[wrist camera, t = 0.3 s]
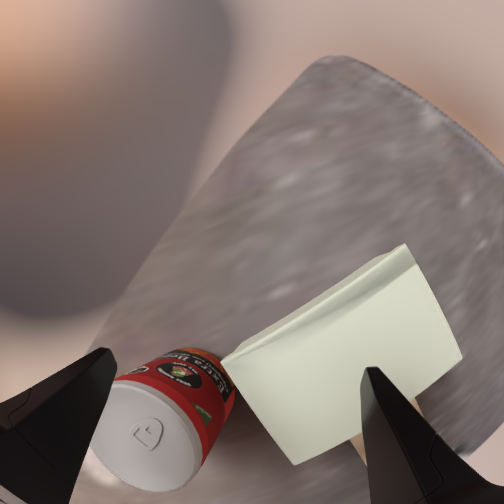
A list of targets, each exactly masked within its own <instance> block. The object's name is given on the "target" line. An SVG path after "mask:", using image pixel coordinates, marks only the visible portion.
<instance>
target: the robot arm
mask: <svg viewBox="0 0 504 504" xmlns="http://www.w3.org/2000/svg"><path fill="white" fill-rule="evenodd" d="M116 372H117V363H116V361H115V358H114V356H113V354H112V351H111V350H110V349H108V348H104V347H100V348H98V349H96V350H94V351H93V352H91V353H89V354H88V355H86V356H84V357H82V358H81V359H79V360H77V361H76V362H74V363H72V364H71V365H69V366H67V367H65V368H63V369H62V370H60V371H58V372H57V373H55V374H53V375H51V376H50V377H48V378H46V379H44V380H43V381H41V382H39V383H38V384H36V385H34V386H33V387H32V388H29V389H27V390H25V391H24V392H22V393H20V394H18V395H16V396H14V397H12V398H10V399H8V400H6V401H4V402H2V403H0V504H69V501H70V498H71V495H72V492H73V489H74V486H75V483H76V480H77V477H78V474H79V471H80V469H81V466H82V463H83V461H84V458H85V455H86V453H87V450H88V447H89V445H90V442H91V440H92V437H93V435H94V432H95V430H96V427H97V425H98V422H99V420H100V417H101V415H102V412H103V410H104V408H105V405H106V403H107V400H108V397H109V394H110V390H111V387H112V384H113V381H114V378H115V375H116ZM360 399H361V424H362V434H363V441H364V448H365V455H366V462H367V470H368V479H369V488H370V498H371V504H504V486H499V485H495V484H492V483H490V482H488V481H487V480H485V479H484V478H483V477H482V476H480V475H479V474H478V473H477V472H476V471H475V470H474V469H472V468H471V467H470V466H469V465H468V464H467V463H466V462H465V461H464V460H462V459H461V458H460V457H459V456H458V455H457V454H456V453H455V452H454V451H453V450H452V449H451V448H450V447H449V446H448V445H447V444H446V443H445V441H444V440H443V439H442V438H441V437H440V436H439V435H438V434H436V431H435V430H434V429H433V428H432V427H431V426H430V424H429V423H428V422H427V421H426V420H425V419H424V418H423V417H422V415H421V414H420V413H419V412H418V411H417V410H416V409H415V407H414V406H413V405H412V404H411V403H410V402H409V401H408V400H407V398H406V397H405V396H404V395H403V394H402V393H401V392H400V391H399V389H398V388H397V387H396V386H395V385H394V384H393V383H392V382H391V381H390V379H389V378H388V377H387V376H386V375H385V374H384V373H383V372H382V370H381V369H380V368H379V367H377V366H373V367H366V368H365V370H364V373H363V376H362V380H361V383H360Z"/></svg>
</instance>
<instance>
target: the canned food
mask: <svg viewBox="0 0 504 504" xmlns="http://www.w3.org/2000/svg"><path fill="white" fill-rule="evenodd" d="M220 362H221V361H220V360H219V359H218V358H216V357H215V356H213V355H212V354H210V353H207V352H205V351H202V350H198V349H194V348H182V349H176V350H174V351H171V352H169V353H167V354H165V355H163V356H161V357H159V358H157V359H155V360H153V361H151V362H149V363H147V364H145V365H143V366H141V367H139V368H136V369H134V370H132V371H130V372H128V373H126V374H124V375H122V376H120V377H118V378H116V379H114V381H113V384H112V387H111V390H110V394H109V397H108V400H107V403H106V405H105V408H104V410H103V412H102V415H101V417H100V420H99V422H98V425H97V427H96V430H95V432H94V435H93V437H92V440H91V442H90V447H91V448H92V450H93V452H94V454H95V455H96V456H97V458H98V459H99V460H100V462H101V463H102V464H103V465H104V466H105V467H106V468H107V469H108V470H109V471H110V472H111V473H112V474H114V475H115V476H116V477H118V478H119V479H121V480H122V481H124V482H126V483H127V484H129V485H131V486H134V487H136V488H138V489H142V490H145V491H149V492H157V493H164V492H172V491H175V490H179V489H181V488H182V487H184V486H186V485H187V484H188V483H189V482H190V481H191V480H192V479H193V478H194V477H195V475H196V474H197V473H198V471H199V469H200V467H201V466H202V465H203V463H204V461H205V459H206V457H207V455H208V454H209V452H210V450H211V448H212V446H213V444H214V442H215V440H216V439H217V437H218V435H219V433H220V431H221V429H222V427H223V425H224V423H225V421H226V419H227V417H228V415H229V413H230V411H231V409H232V407H233V404H234V400H235V388H234V383H233V381H232V379H231V378H230V376H229V375H228V373H227V372H226V370H225V369H224V367H223V366H222V364H221V363H220Z"/></svg>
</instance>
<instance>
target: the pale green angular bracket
mask: <svg viewBox="0 0 504 504" xmlns="http://www.w3.org/2000/svg"><path fill="white" fill-rule="evenodd" d="M462 358H463V357H462V355H461V352H460V350H459V348H458V345H457V343H456V341H455V338H454V336H453V334H452V332H451V329H450V327H449V325H448V323H447V321H446V319H445V316H444V314H443V312H442V310H441V308H440V306H439V304H438V302H437V300H436V298H435V296H434V294H433V292H432V291H431V289H430V287H429V285H428V283H427V281H426V279H425V277H424V276H423V274H422V272H421V270H420V268H419V267H418V265H417V263H416V261H415V260H414V258H413V256H412V254H411V253H410V251H409V249H408V248H407V246H406V244H403V245H400V246H398V247H396V248H395V249H394V250H392V251H391V252H389V253H386V254H383V255H380V256H377V257H375V258H373V259H372V260H371V261H369V262H368V263H366V264H365V265H363V266H362V267H361V268H359V269H358V270H356V271H355V272H353V273H352V274H350V275H349V276H348V277H346V278H345V279H343V280H342V281H340V282H339V283H337V284H336V285H334V286H333V287H331V288H330V289H328V290H327V291H325V292H323V293H322V294H320V295H319V296H317V297H316V298H314V299H313V300H311V301H310V302H308V303H306V304H305V305H303V306H302V307H300V308H299V309H297V310H295V311H294V312H292V313H291V314H289V315H287V316H286V317H284V318H282V319H281V320H279V321H277V322H276V323H274V324H272V325H271V326H269V327H267V328H266V329H264V330H262V331H261V332H259V333H257V334H256V335H254V336H252V337H251V338H249V339H247V340H245V341H244V342H242V343H241V344H240V345H239V346H238V347H237V349H236V350H235V351H234V352H233V353H232V354H230V355H228V356H226V357H225V358H224V359H223V360H222V361H221V362H220V363H221V364H222V366H223V367H224V369H225V370H226V372H227V373H228V375H229V376H230V378H231V379H232V381H233V382H234V384H235V385H236V387H237V388H238V390H239V391H240V393H241V394H242V396H243V397H244V399H245V400H246V402H247V403H248V404H249V406H250V407H251V409H252V410H253V412H254V413H255V414H256V416H257V417H258V419H259V420H260V421H261V423H262V424H263V426H264V427H265V428H266V430H267V431H268V432H269V434H270V435H271V436H272V438H273V439H274V440H275V442H276V443H277V444H278V446H279V447H280V448H281V450H282V451H283V452H284V453H285V455H286V456H287V457H288V459H289V460H290V461H291V462H292V464H293V465H294V466H295V465H297V464H300V463H302V462H304V461H306V460H309V459H311V458H313V457H315V456H317V455H319V454H321V453H323V452H325V451H327V450H329V449H331V448H333V447H335V446H337V445H339V444H341V443H343V442H345V441H346V440H348V439H350V438H352V437H354V436H355V435H357V434H359V433H361V432H362V424H361V399H360V383H361V380H362V376H363V373H364V370H365V368H366V367H373V366H377V367H379V368H380V369H381V370H382V372H383V373H384V374H385V375H386V376H387V377H388V378H389V379H390V381H391V382H392V383H393V384H394V385H395V386H396V387H397V388H398V389H399V391H400V392H401V393H402V394H403V395H404V396H405V397H406V398H407V400H408V401H410V400H411V399H413V398H414V397H416V396H417V395H418V394H420V393H421V392H422V391H424V390H425V389H426V388H427V387H429V386H430V385H431V384H433V383H434V382H435V381H436V380H438V379H439V378H440V377H441V376H442V375H444V374H445V373H446V372H447V371H448V370H450V369H451V368H452V367H453V366H454V365H455V364H456V363H458V362H459V361H460V360H461V359H462Z"/></svg>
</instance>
